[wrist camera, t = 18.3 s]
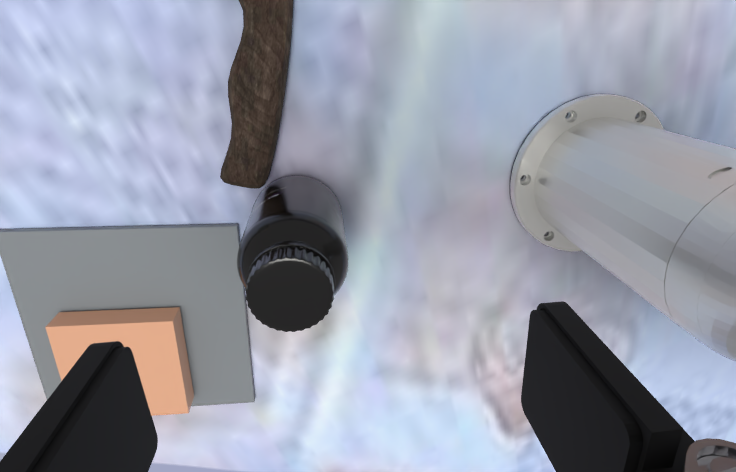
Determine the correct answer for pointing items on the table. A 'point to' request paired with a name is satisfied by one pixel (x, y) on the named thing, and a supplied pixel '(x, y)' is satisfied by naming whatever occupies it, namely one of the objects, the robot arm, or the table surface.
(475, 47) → the table surface
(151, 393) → the tile
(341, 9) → the table surface
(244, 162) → the cleaver
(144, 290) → the slate mat
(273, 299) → the supplement bottle
